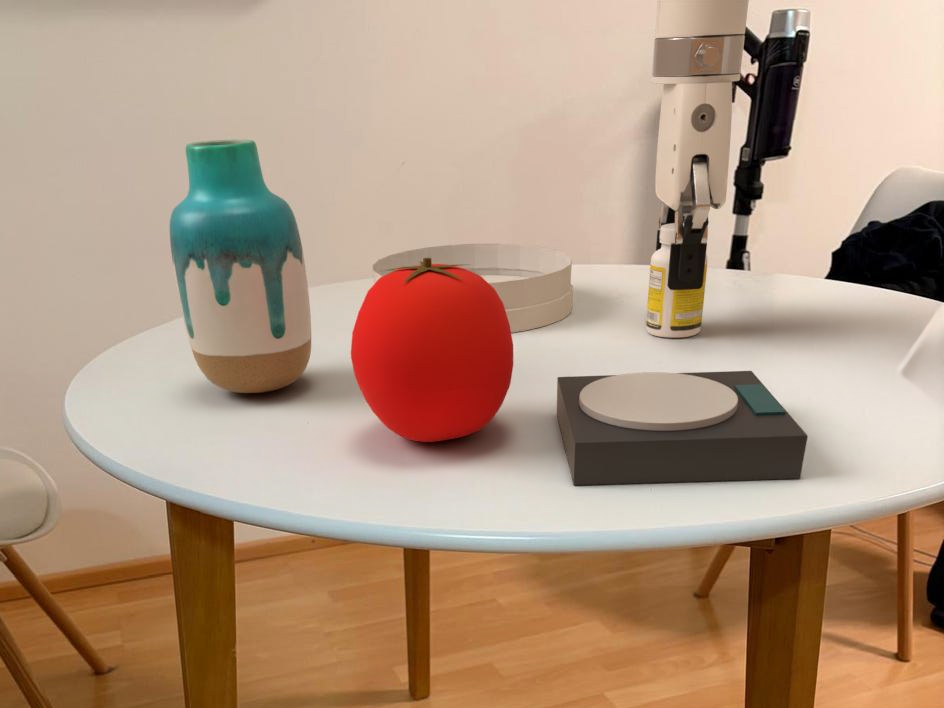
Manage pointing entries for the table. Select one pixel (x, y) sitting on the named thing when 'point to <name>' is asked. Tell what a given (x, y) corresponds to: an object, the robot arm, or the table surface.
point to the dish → (505, 277)
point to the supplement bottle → (671, 296)
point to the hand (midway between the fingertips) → (677, 278)
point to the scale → (676, 428)
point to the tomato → (432, 351)
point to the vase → (240, 272)
